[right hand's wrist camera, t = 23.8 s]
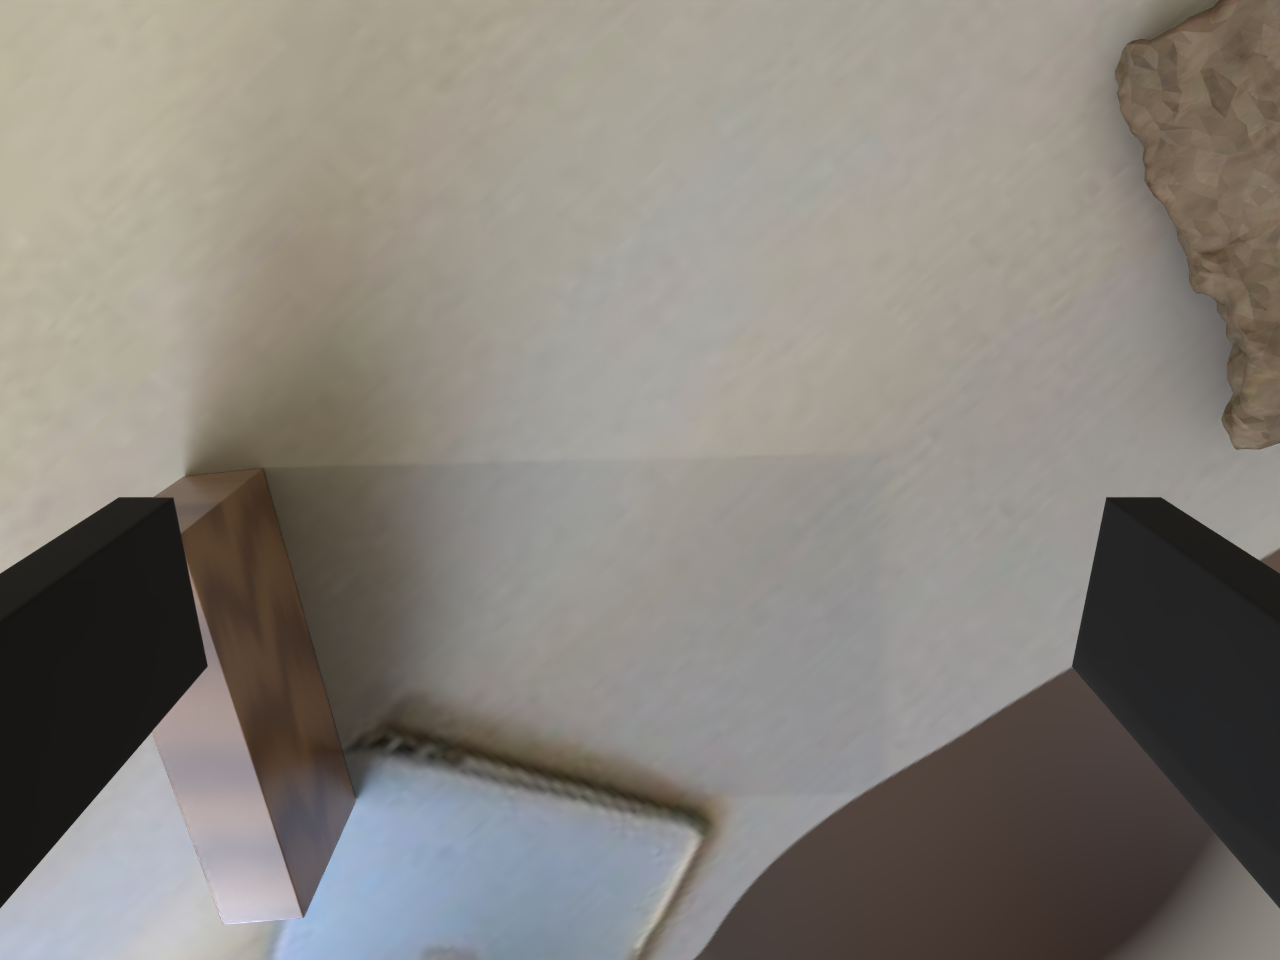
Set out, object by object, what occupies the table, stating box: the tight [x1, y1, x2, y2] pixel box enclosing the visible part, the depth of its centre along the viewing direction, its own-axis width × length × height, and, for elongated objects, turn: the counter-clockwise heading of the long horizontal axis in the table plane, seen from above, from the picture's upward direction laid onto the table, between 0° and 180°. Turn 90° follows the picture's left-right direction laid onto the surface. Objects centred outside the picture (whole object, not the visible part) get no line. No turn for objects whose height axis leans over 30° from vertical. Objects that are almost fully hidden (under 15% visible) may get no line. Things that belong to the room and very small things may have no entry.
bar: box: [152, 468, 356, 924], centre depth 46 cm, size 23×4×9 cm, turn 6°
